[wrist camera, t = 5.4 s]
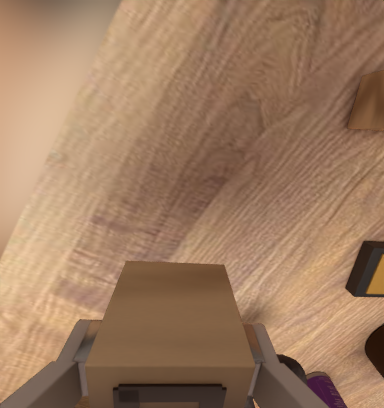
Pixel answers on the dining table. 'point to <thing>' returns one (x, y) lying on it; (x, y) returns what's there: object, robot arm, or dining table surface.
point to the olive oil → (376, 350)
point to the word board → (368, 271)
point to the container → (325, 389)
